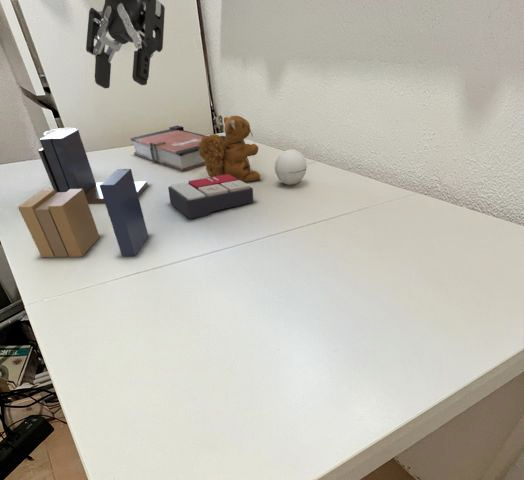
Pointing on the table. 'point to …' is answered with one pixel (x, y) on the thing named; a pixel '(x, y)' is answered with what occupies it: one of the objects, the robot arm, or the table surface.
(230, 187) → the grey and red device
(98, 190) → the book stand
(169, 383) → the table surface
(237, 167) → the stuffed squirrel
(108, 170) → the table surface
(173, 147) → the book
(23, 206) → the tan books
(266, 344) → the table surface
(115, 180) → the navy book
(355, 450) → the table surface
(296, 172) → the seamed sphere
